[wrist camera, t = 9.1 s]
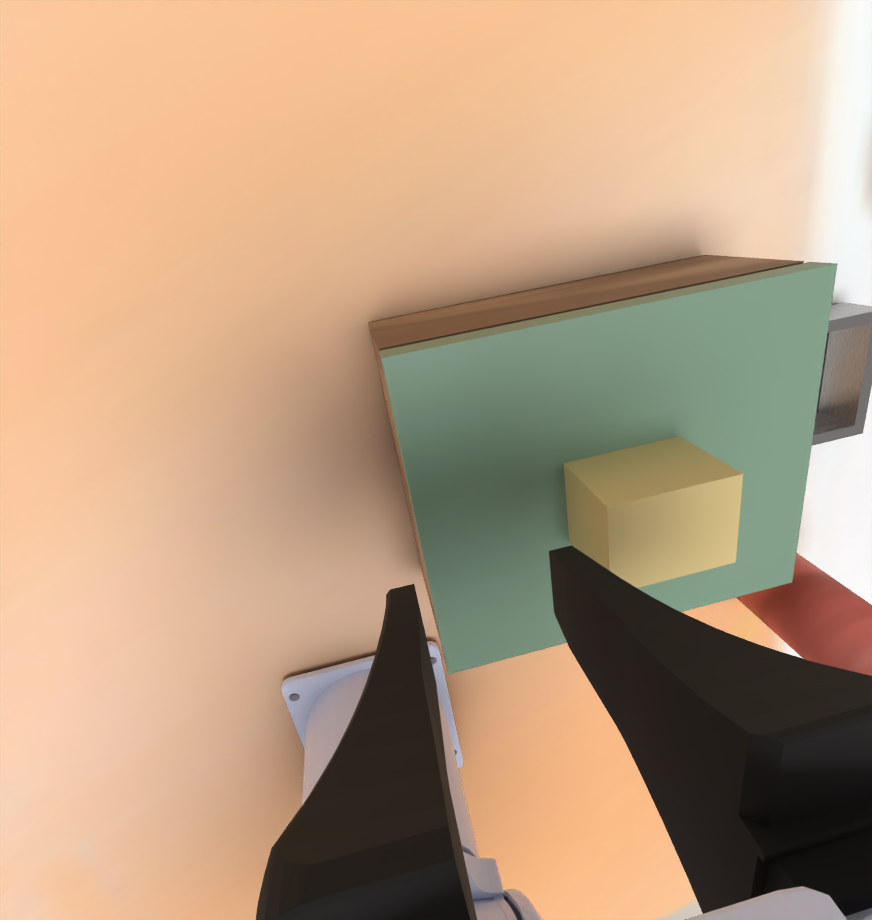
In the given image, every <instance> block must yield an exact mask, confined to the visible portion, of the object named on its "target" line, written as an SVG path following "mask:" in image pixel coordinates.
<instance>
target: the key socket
mask: <svg viewBox="0 0 872 920" xmlns="http://www.w3.org/2000/svg"><path fill="white" fill-rule="evenodd" d="M828 333H829V339H828V346H827V353H826V360H825V367H824V374H823V381H822V388H821V395H820V401H819V408H818V412H816V417H815V424H814V431H813V438H812V445H816V444H820V443H824V442H829V441H833V440H837V439H841V438H845V437H849V436H853V435H857V434H862V433H863V429H864V423H865V418H866V413H867V407H868V402H869V396H870V391H871V385H872V306H864V305H857V304H850V303H839V304H834V305H831V312H830V319H829V326H828Z"/></svg>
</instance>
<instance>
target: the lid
mask: <svg viewBox="0 0 872 920" xmlns="http://www.w3.org/2000/svg"><path fill="white" fill-rule="evenodd" d="M836 269H837V264H833V263H818V262H808V263H803V264H798V265H794V266H789V267H784V268H779V269H774V270H769V271H764V272H760V273H755V274H750V275H745V276H740V277H735V278H730V279H726V280H721V281H716V282H711V283H706V284H701V285H696V286H692V287H687V288H682V289H677V290H672V291H667V292H662V293H658V294H653V295H648V296H643V297H638V298H633V299H629V300H624V301H619V302H614V303H609V304H604V305H599V306H595V307H590V308H585V309H580V310H575V311H570V312H565V313H561V314H556V315H551V316H546V317H541V318H536V319H531V320H527V321H522V322H517V323H512V324H507V325H502V326H497V327H493V328H488V329H483V330H478V331H473V332H468V333H463V334H459V335H454V336H449V337H444V338H439V339H434V340H430V341H425V342H420V343H415V344H410V345H405V346H400V347H396V348H391V349H386V350H381V351H379V354H380V359H381V363H382V368H383V373H384V378H385V382H386V387H387V392H388V396H389V401H390V406H391V411H392V415H393V420H394V425H395V429H396V434H397V439H398V443H399V448H400V453H401V458H402V462H403V467H404V472H405V476H406V481H407V486H408V491H409V495H410V500H411V505H412V509H413V514H414V519H415V524H416V528H417V533H418V538H419V542H420V547H421V552H422V556H423V561H424V566H425V571H426V575H427V580H428V585H429V589H430V594H431V599H432V604H433V608H434V613H435V618H436V622H437V627H438V632H439V637H440V641H441V646H442V651H443V655H444V659H445V663H446V667H447V670H448V674H451V673H455V672H459V671H462V670H466V669H470V668H474V667H477V666H481V665H485V664H489V663H492V662H496V661H500V660H503V659H507V658H511V657H515V656H518V655H522V654H526V653H530V652H533V651H537V650H541V649H545V648H548V647H552V646H556V645H560V644H563V643H567V641H566V639H565V637H564V635H563V632H562V630H561V628H560V625H559V623H558V621H557V619H556V616H555V614H554V607H553V595H552V584H551V572H550V560H549V551H550V550H555V549H559V548H563V547H567V546H571V545H572V546H573V547H575V548H576V549H578V550H579V551H581V552H582V553H584V554H585V555H587V556H588V557H590V558H591V559H593V560H594V561H596V562H597V563H599V564H600V565H602V566H603V567H605V568H606V569H608V570H609V571H611V572H612V573H614V574H615V575H617V576H618V577H620V578H621V579H623V580H625V581H626V582H628V583H630V584H631V585H633V586H634V587H636V588H638V589H639V590H641V591H643V592H644V593H646V594H648V595H650V596H651V597H653V598H655V599H657V600H659V601H661V602H662V603H664V604H666V605H668V606H670V607H672V608H673V609H675V610H677V611H679V612H683V611H687V610H690V609H694V608H698V607H702V606H705V605H709V604H713V603H717V602H720V601H724V600H728V599H732V598H735V597H739V596H743V595H746V594H750V593H754V592H758V591H761V590H765V589H769V588H773V587H776V586H780V585H784V584H788V583H791V582H792V580H793V572H794V565H795V558H796V551H797V544H798V537H799V530H800V523H801V516H802V509H803V502H804V495H805V488H806V481H807V474H808V467H809V460H810V453H811V446H812V438H813V431H814V424H815V417H816V410H817V403H818V396H819V389H820V382H821V375H822V368H823V361H824V354H825V347H826V340H827V333H828V326H829V319H830V312H831V305H832V297H833V290H834V283H835V276H836Z"/></svg>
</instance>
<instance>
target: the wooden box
mask: <svg viewBox="0 0 872 920" xmlns="http://www.w3.org/2000/svg"><path fill="white" fill-rule="evenodd" d="M803 262H804V261H790V260H774V259H759V258H744V257H728V256H713V255H703V256H698V257H693V258H688V259H683V260H678V261H673V262H668V263H663V264H658V265H653V266H648V267H644V268H639V269H634V270H629V271H624V272H619V273H614V274H609V275H604V276H599V277H594V278H589V279H584V280H579V281H574V282H569V283H564V284H559V285H554V286H549V287H544V288H539V289H534V290H529V291H524V292H519V293H514V294H509V295H504V296H499V297H494V298H489V299H484V300H479V301H474V302H469V303H464V304H459V305H454V306H449V307H444V308H439V309H434V310H429V311H424V312H419V313H414V314H409V315H404V316H399V317H394V318H389V319H384V320H379V321H374V322H369V328H370V332H371V337H372V341H373V346H374V351H375V355H376V360H377V365H378V369H379V374H380V379H381V383H382V388H383V392H384V397H385V402H386V406H387V411H388V416H389V420H390V425H391V429H392V434H393V439H394V443H395V448H396V453H397V457H398V462H399V467H400V471H401V476H402V480H403V485H404V490H405V494H406V499H407V504H408V508H409V513H410V518H411V522H412V527H413V531H414V536H415V541H416V545H417V550H418V555H419V559H420V564H421V568H422V573H423V577H424V581H425V585H426V589H427V592H428V596H429V600H430V604H431V607H432V611H433V615H434V619H435V623H436V626H437V622H436V618H435V613H434V608H433V604H432V599H431V594H430V589H429V585H428V580H427V575H426V571H425V566H424V561H423V556H422V552H421V547H420V542H419V538H418V533H417V528H416V524H415V519H414V514H413V509H412V505H411V500H410V495H409V491H408V486H407V481H406V476H405V472H404V467H403V462H402V458H401V453H400V448H399V443H398V439H397V434H396V429H395V425H394V420H393V415H392V411H391V406H390V401H389V396H388V392H387V387H386V382H385V378H384V373H383V368H382V363H381V359H380V354H379V351H381V350H386V349H391V348H396V347H400V346H405V345H410V344H415V343H420V342H425V341H430V340H434V339H439V338H444V337H449V336H454V335H459V334H463V333H468V332H473V331H478V330H483V329H488V328H493V327H497V326H502V325H507V324H512V323H517V322H522V321H527V320H531V319H536V318H541V317H546V316H551V315H556V314H561V313H565V312H570V311H575V310H580V309H585V308H590V307H595V306H599V305H604V304H609V303H614V302H619V301H624V300H629V299H633V298H638V297H643V296H648V295H653V294H658V293H662V292H667V291H672V290H677V289H682V288H687V287H692V286H696V285H701V284H706V283H711V282H716V281H721V280H726V279H730V278H735V277H740V276H745V275H750V274H755V273H760V272H764V271H769V270H774V269H779V268H784V267H789V266H794V265H798V264H803ZM437 630H438V627H437ZM438 634H439V632H438ZM439 638H440V637H439Z"/></svg>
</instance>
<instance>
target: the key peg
mask: <svg viewBox="0 0 872 920" xmlns="http://www.w3.org/2000/svg"><path fill="white" fill-rule="evenodd" d="M736 598H737V599H738V600H740V601H741V602H742V603H743V604H744V605H745V606H746V607H747V608H748V609H750V610H751V611H752V612H753V613H754V614H755V615H756V616H757V617H758V618H759V619H761V620H762V621H763V622H764V623H765V624H766V625H767V626H768V627H769V628H770V629H772V630H773V631H774V632H775V633H776V634H777V635H778V636H779V637H780V638H781V639H783V640H784V641H785V642H786V643H787V644H788V645H789V646H790V647H791V648H792V649H794V650H795V651H796V652H797V653H798V654H799V655H800V656H801V657H802V658H803V659H806V660H809V661H813V662H816V663H820V664H824V665H828V666H833V667H837V668H841V669H845V670H849V671H854V672H858V673H862V674H866V675H870V676H872V605H871V604H869V603H868V602H866V601H865V600H864V599H862V598H861V597H859V596H858V595H856V594H855V593H853V592H852V591H851V590H849V589H848V588H846V587H845V586H843V585H842V584H840V583H839V582H838V581H836V580H835V579H833V578H832V577H830V576H829V575H828V574H826V573H825V572H823V571H822V570H820V569H819V568H817V567H816V566H815V565H813V564H812V563H810V562H809V561H807V560H806V559H804V558H803V557H802V556H800V555H799V554H797V553H796V558H795V565H794V572H793V580H792V582H791V583H788V584H784V585H780V586H776V587H773V588H769V589H765V590H761V591H758V592H754V593H750V594H746V595H743V596H739V597H736Z"/></svg>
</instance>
